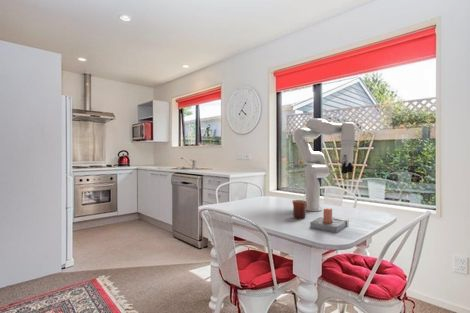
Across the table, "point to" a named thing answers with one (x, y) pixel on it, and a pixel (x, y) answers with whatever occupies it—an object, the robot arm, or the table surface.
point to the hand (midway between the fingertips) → (347, 172)
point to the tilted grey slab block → (342, 220)
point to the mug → (299, 209)
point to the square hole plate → (328, 225)
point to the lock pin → (327, 215)
